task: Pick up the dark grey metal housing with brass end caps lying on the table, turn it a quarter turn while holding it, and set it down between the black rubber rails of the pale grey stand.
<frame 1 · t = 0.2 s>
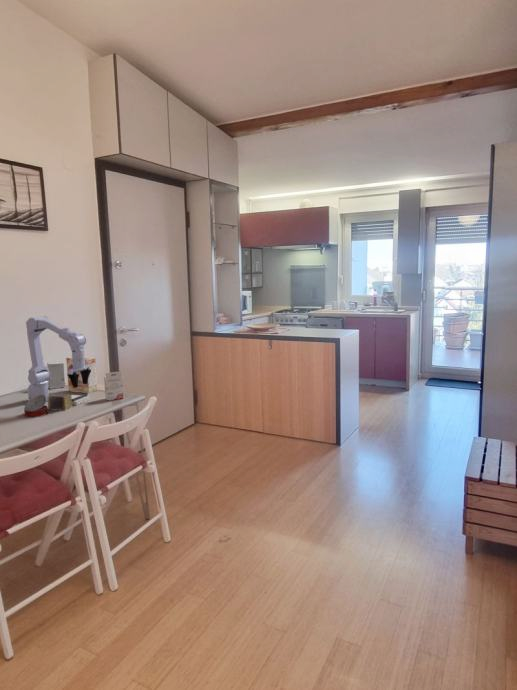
hand: (80, 385, 227), 10 cm above the table, tool pointing down, fingers open, 7 cm apart
skincare box: (57, 387, 266), on the table
stand: (72, 401, 234), on the table
housing: (60, 408, 223), on the table
ink cartridge box: (114, 399, 239), on the table
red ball: (36, 414, 214), on the table
coffeecake box: (83, 391, 256), on the table
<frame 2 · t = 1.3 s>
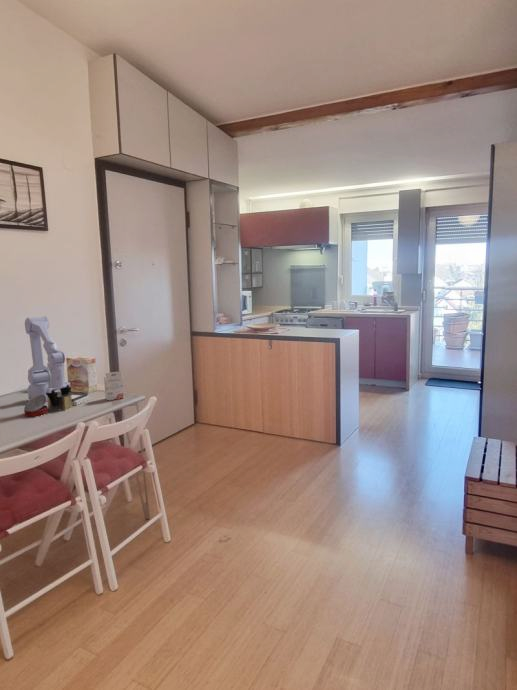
hand: (59, 403, 222), 2 cm above the table, tool pointing down, fingers open, 7 cm apart
nothing on the table moved.
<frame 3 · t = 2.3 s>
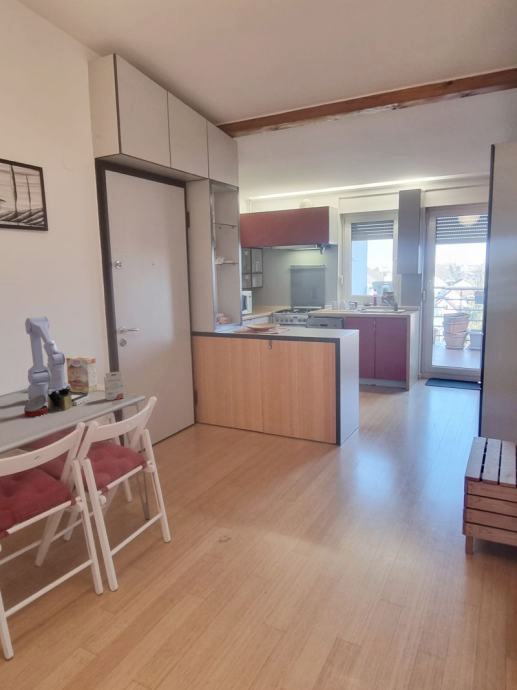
hand: (59, 405, 222), 2 cm above the table, tool pointing down, fingers closed on housing, 5 cm apart
housing: (60, 408, 223), on the table, touching gripper
everything else where it was.
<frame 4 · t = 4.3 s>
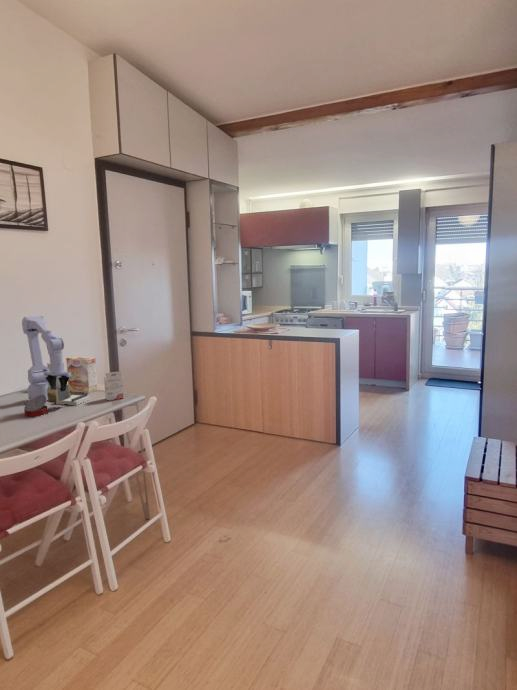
hand: (58, 390, 221), 9 cm above the table, tool pointing down, fingers closed on housing, 5 cm apart
housing: (59, 399, 222), point 4 cm above the table, touching gripper
everything else where it was.
when the fingers open (8 cm above the table, at t = 5.5 s): housing stays where it is, resting on stand.
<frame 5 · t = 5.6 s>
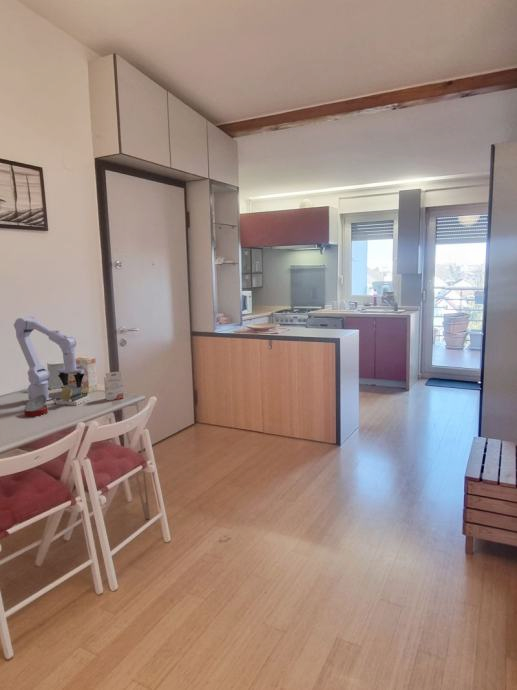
hand: (72, 387, 233), 8 cm above the table, tool pointing down, fingers open, 7 cm apart
housing: (71, 397, 233), point 3 cm above the table, tilted 19°, touching gripper, stand
everything else where it was.
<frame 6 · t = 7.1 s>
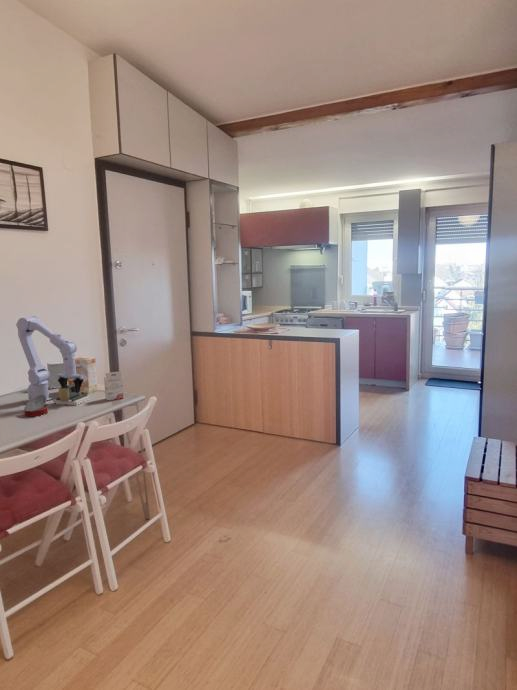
hand: (71, 392, 233), 5 cm above the table, tool pointing down, fingers open, 7 cm apart
housing: (70, 398, 233), point 2 cm above the table, touching stand
everything else where it was.
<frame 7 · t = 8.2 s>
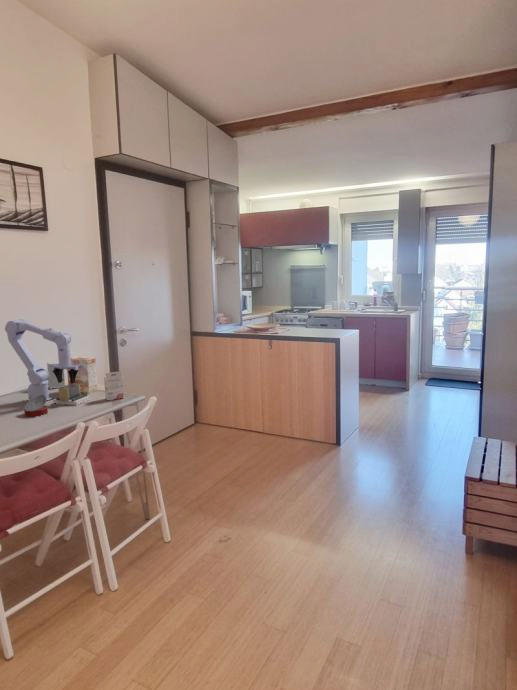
hand: (66, 382, 235), 9 cm above the table, tool pointing down, fingers open, 7 cm apart
nothing on the table moved.
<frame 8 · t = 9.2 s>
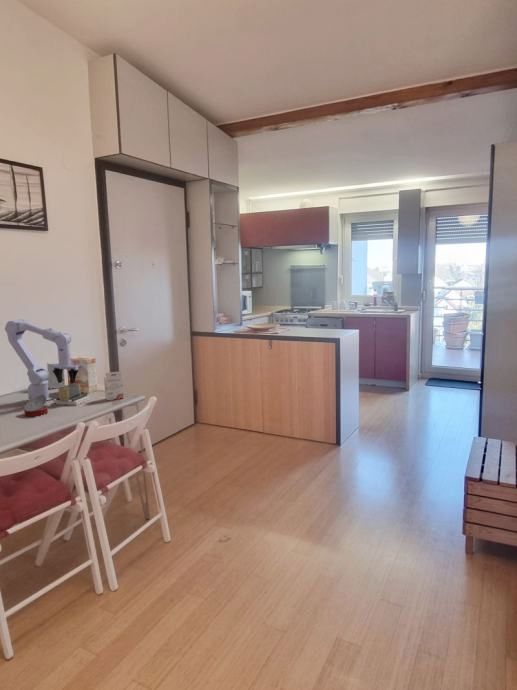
hand: (66, 382, 235), 9 cm above the table, tool pointing down, fingers open, 7 cm apart
nothing on the table moved.
at the end: housing 1.2 cm off-centre on the stand, point 2.0 cm above the stand's base; housing tilted 0°; the gripper is holding nothing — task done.
